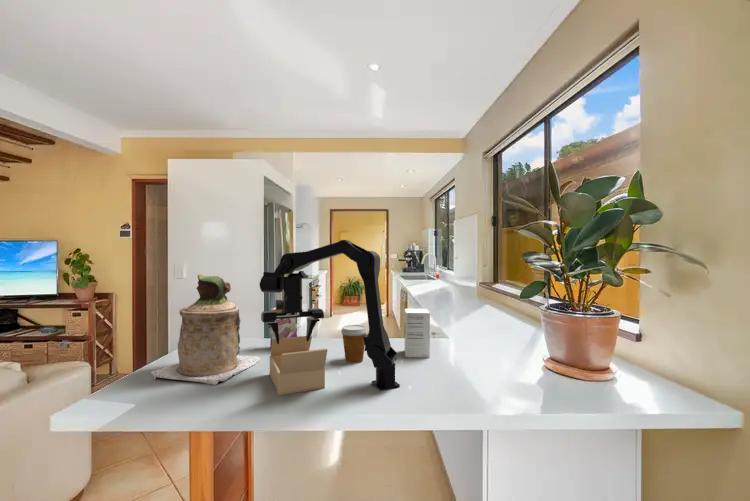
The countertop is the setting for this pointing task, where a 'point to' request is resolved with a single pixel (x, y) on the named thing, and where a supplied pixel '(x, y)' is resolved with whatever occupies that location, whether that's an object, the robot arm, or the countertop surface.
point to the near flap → (303, 361)
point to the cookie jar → (209, 337)
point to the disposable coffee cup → (354, 342)
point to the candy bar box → (286, 327)
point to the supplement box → (417, 333)
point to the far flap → (290, 345)
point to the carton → (295, 378)
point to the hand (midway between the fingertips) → (292, 342)
